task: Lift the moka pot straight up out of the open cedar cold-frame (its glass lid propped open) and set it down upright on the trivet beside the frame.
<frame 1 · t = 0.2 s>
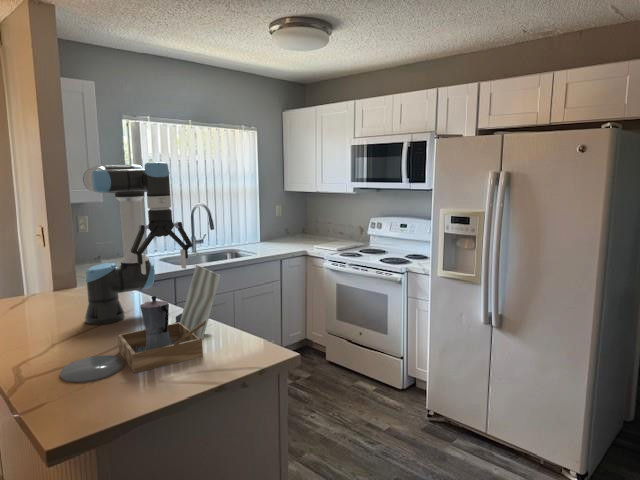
hand: (164, 270, 159), 28 cm above the worktop, fingers open, 13 cm apart
trivet: (92, 369, 146), on the worktop
stone: (191, 332, 179), on the worktop
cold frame: (160, 353, 158), on the worktop
moka pot: (160, 354, 158), resting in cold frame
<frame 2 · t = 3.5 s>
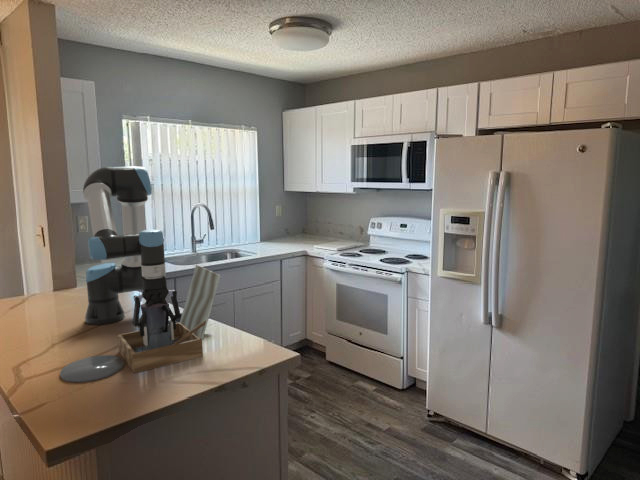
hand: (158, 341, 157), 4 cm above the worktop, fingers closed on moka pot, 8 cm apart
moka pot: (160, 354, 158), resting in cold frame, touching gripper
everything else where it was.
when the fingers open (6 cm above the worktop, at t = 12.0 s): moka pot moves 2 cm, resting on trivet.
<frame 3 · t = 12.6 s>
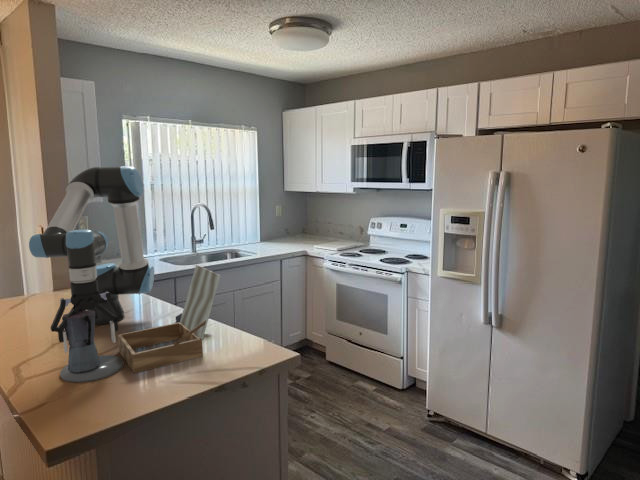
hand: (90, 346, 145), 8 cm above the worktop, fingers open, 13 cm apart
moka pot: (85, 368, 145), point 1 cm above the worktop, touching gripper, trivet
everything else where it was.
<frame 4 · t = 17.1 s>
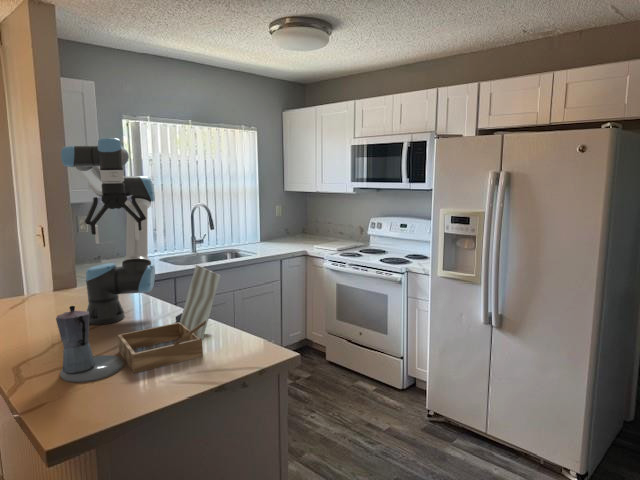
hand: (118, 241, 168), 37 cm above the worktop, fingers open, 13 cm apart
moka pot: (80, 369, 145), point 1 cm above the worktop, touching trivet
everything else where it was.
at the end: moka pot inside the target area on the trivet (3.4 cm from its centre), point 0.8 cm above the trivet's base; moka pot tilted 0°; the gripper is holding nothing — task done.
